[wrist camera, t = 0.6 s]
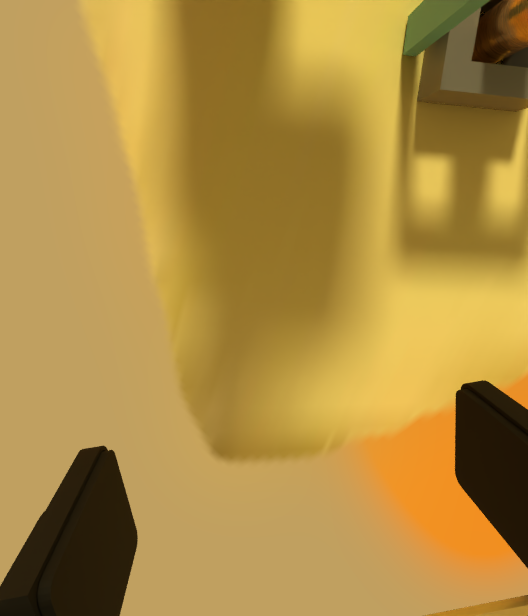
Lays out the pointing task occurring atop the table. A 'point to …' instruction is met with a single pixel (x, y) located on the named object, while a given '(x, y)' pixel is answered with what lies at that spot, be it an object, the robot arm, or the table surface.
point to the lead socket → (472, 72)
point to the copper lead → (501, 31)
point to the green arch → (435, 22)
